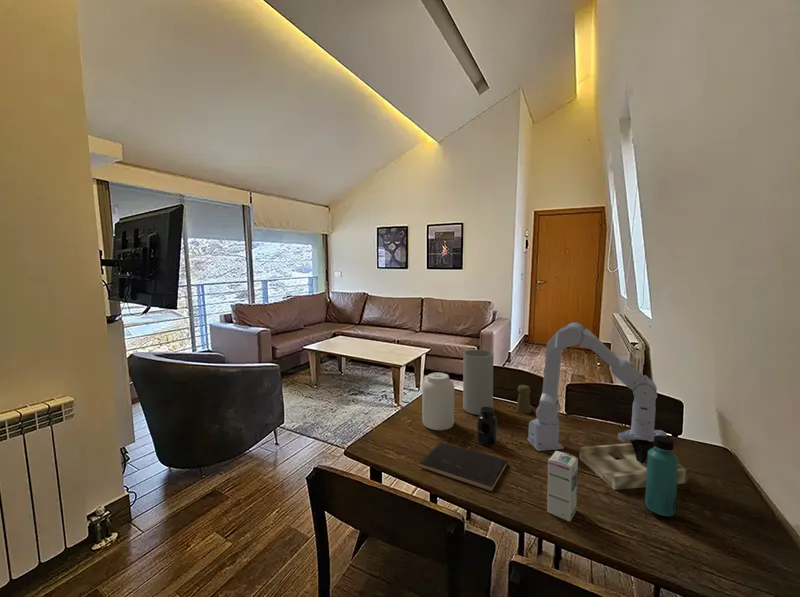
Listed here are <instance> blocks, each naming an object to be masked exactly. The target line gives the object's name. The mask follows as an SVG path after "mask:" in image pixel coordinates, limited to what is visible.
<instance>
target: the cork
mask: <svg viewBox="0 0 800 597" xmlns="http://www.w3.org/2000/svg"><path fill="white" fill-rule="evenodd" d="M531 391H532V390H531V387H530V386H529V385H526V384H520V385H518V387H517V392H518V397H517V402H516V407H515V408H516V409H515V410H516V412H517V413H520V414H525V415H527V414H531V412H532V408H531V401H530V400H531V399H530V398H531V397H530V394H531Z"/></svg>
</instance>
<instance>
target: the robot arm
mask: <svg viewBox="0 0 800 597" xmlns="http://www.w3.org/2000/svg"><path fill="white" fill-rule="evenodd" d="M577 345H579V348H584V349H585V348H586V349H589V350H591V351H593V353H595V354H596V355H598V357H600V359H602V360H603V361H604V362H605V363H606V364H608V365H609V366H610V367H611V369H610V370H611V373H612V374H613V375H614V376H615V377H616V378H617V379H618V380H619V381H620V382H621V383H622V384H623V385H624V386H626V387H627V388H628V389H630V390H632V395H633V396H634V398H633V399H634V400H633V402H632V409H631V410H632V411H631V412H632V413H631V425H630V429H627V430H625V431H622V432H618V433H617V440H619V441H620V442H622V443H625V442H626V441H629V443H631V444H632V446H633V448H634V451H635V455H636V460H637V461H638V462H640V463H644V462H645V460H646V458H647V456H648V450H650V449H652V448H653V447H654V445H653V441H654V437H655V436H657V435H661V436H666V437H667V432H666V431H664V430H662V429H655V425H656V424H655V423H656V422H655V421H656V410H657V407H656V403H657V402H656V399H657V398H658V392H657V390H658V388H657V385H656V383H655V382H654V381H653V379H651V378H649V377H648V375H646V374H644V375H643V373H641V372H640V371H639V370H638V369H637V368H636V367H635V366H636V365H635V363H634V362H633V361H628V359H620V358H619V357H618V356H617V355H616V354H614V353H613V351H612V350H611V349H610V348H608V347H607V345H605V344H604V342H602V341H601V340H600V339H599V338H598V337H597V336H596V335H595V334H594V333H593V332H592V331H591V330H590V329H588V328H586V327H585V326H584V325H583V324H581V323H580V322H577V321H576V322H575V321H573V322H570V323H568V324H566V325H564V326H563V327H561V328H560V329H559V330H557V331H556V333H555V334H554V335H553V336H552V337H551V338H550V339H549V340H548V341H547V343H546V347H545V348H546V349H545V359H544V360H545V361H544V370H543V379H542V380H543V381H542V382H543V383H542V390H541V391H542V392H541V396H540V399H539V405H538V406H537V407H536V410H535V416H536V418H534V419H531V420H529V423H528V434H527V435H528V437H527V439H526V440H527V441H528V442H529V443H530V444H531V445H532V447H534V449H536V450H537V452H538V451H539V452H541V451H542V452H543V451H554V450H555V451H557V450H564V446H563V445H562V444H560V443H559V440H560V439H559V436H560V435H559V434H560V419H559V417H558V414H559V413H560V411H561V404H560V402H559V397H560V396H559V384H560V374H561V366H562V365H561V364H562V363H561V362H562V354H563V352H562V351H563V350H565V349H566V348H568V347H573V346H577Z"/></svg>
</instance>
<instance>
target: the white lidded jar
mask: <svg viewBox="0 0 800 597" xmlns="http://www.w3.org/2000/svg"><path fill="white" fill-rule="evenodd" d="M421 393H422V394H421V395H422V396H421V399H422V400H421V401H422V409H421V410H422V411H421V412H422V418H421V419H422V420H421V421H422V424H423V426H424V427H426V428H427V429H430V430H432V431H433V430H434V431H445V430H450V429H451V428H452V427H454V424H455V385H454V383H453V381H452V380H451V379H450V376H449V374H447V373H444V372H440V371H439V372H431V373H429V374H427V377H426V379H425V380H424V381H423V383H422V392H421Z"/></svg>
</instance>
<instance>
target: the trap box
mask: <svg viewBox="0 0 800 597" xmlns="http://www.w3.org/2000/svg"><path fill="white" fill-rule="evenodd" d="M578 457H579V458H578V460H579V461H581V462H583V464H584V465H586V466H587V467H588V468H589V469H590V470H592V471H593V472H594V473H595V474H596V475H597V476H598V477H599V478H600V479H602V481H604V482H605V483H606V484H607V485H609V487H611V488H612V489H613V490H614V491H615V490H616V491H618V490H628V489H636V488H637V489H638V488H640V489H641V488H646V485H645V484H646V479H645V478H646V473H647V471H646V470H647V465H646V464H644V463H640V462H638V461H637V460H636V455H635V451H634V448H633V446H632V444H631V442H628V443H616V444H603V445H601V444H600V445H589V446H580V447H579V456H578ZM616 458H619V459H616ZM689 474H690V469H689V468H687V467H685V466H683V465H682V464H681V463H679V462H678V471H677V476H678V477H677V485H682V484H688V483H689V477H690V476H689Z"/></svg>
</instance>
